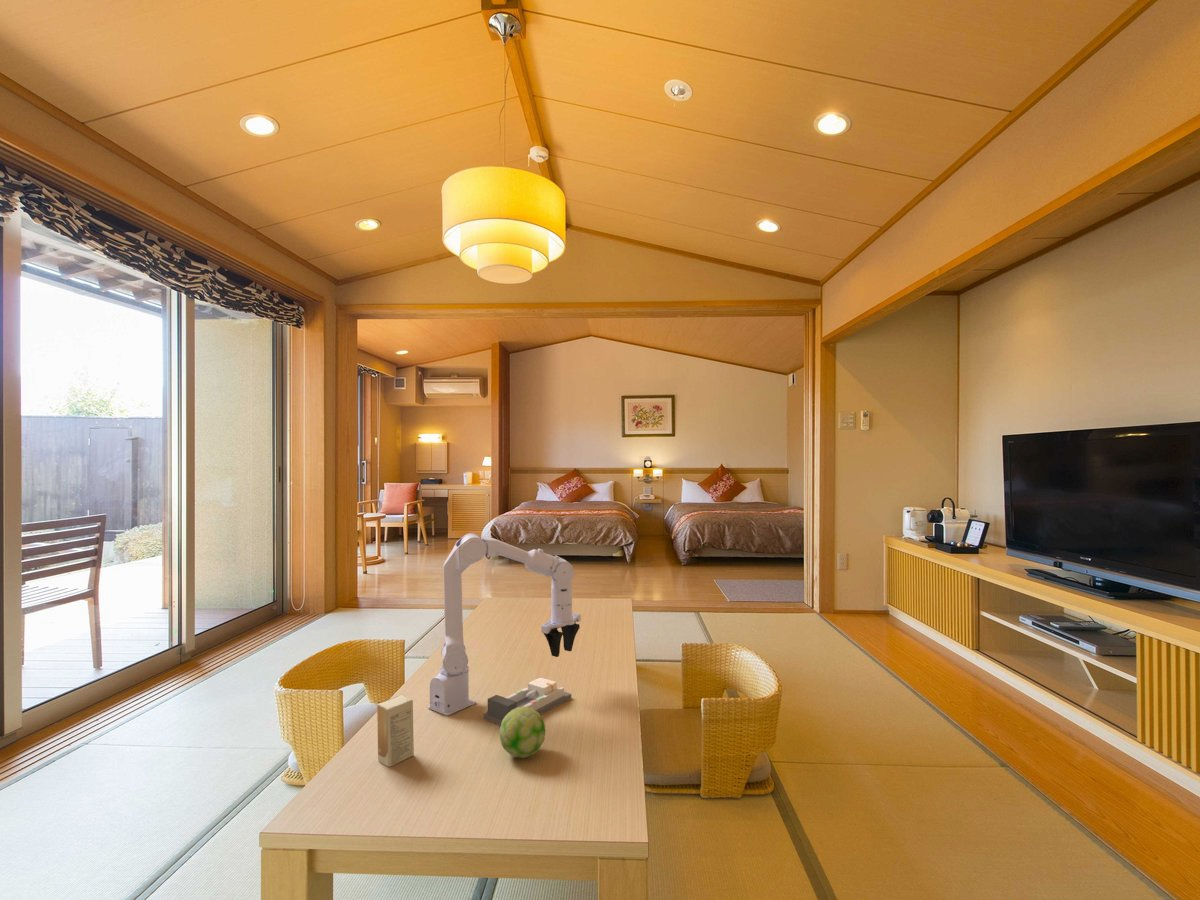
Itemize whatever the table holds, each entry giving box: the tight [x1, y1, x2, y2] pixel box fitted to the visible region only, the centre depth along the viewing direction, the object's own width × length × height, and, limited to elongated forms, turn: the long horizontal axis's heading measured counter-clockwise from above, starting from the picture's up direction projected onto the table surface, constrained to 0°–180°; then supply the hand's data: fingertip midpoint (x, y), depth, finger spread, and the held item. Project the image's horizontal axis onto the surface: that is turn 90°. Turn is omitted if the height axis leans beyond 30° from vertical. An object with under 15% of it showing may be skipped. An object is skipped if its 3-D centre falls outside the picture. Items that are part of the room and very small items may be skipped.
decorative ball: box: [499, 707, 546, 759], centre depth 125 cm, size 10×10×10 cm
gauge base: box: [482, 686, 572, 726], centre depth 148 cm, size 22×10×5 cm, turn 144°
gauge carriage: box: [526, 677, 558, 699], centre depth 151 cm, size 8×7×4 cm
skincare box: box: [376, 694, 415, 768], centre depth 124 cm, size 6×4×12 cm
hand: (561, 653), depth 159 cm, fingers open, 5 cm apart
